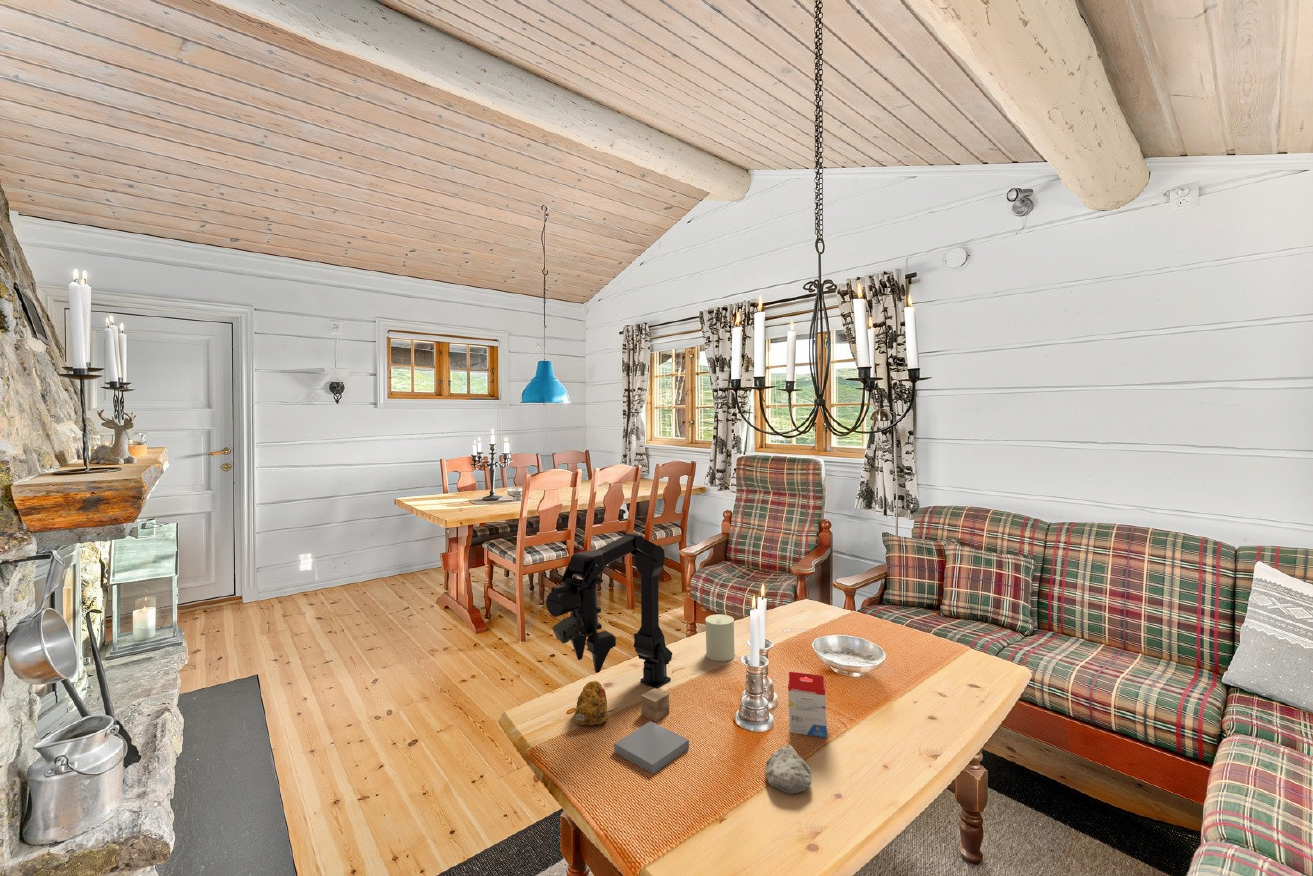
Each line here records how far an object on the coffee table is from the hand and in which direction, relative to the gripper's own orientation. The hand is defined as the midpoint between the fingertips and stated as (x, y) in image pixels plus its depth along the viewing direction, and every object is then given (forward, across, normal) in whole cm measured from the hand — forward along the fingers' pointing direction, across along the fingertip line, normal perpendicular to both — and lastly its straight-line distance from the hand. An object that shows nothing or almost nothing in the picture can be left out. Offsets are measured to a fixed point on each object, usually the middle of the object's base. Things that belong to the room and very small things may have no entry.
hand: (588, 665), depth 137 cm
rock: (+14, -2, +1) cm, 14 cm away
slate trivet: (+14, +20, +5) cm, 25 cm away
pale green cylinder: (+15, -8, +51) cm, 54 cm away
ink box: (+15, +36, +39) cm, 55 cm away
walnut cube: (+14, +8, +15) cm, 22 cm away
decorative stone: (+14, +45, +22) cm, 52 cm away
